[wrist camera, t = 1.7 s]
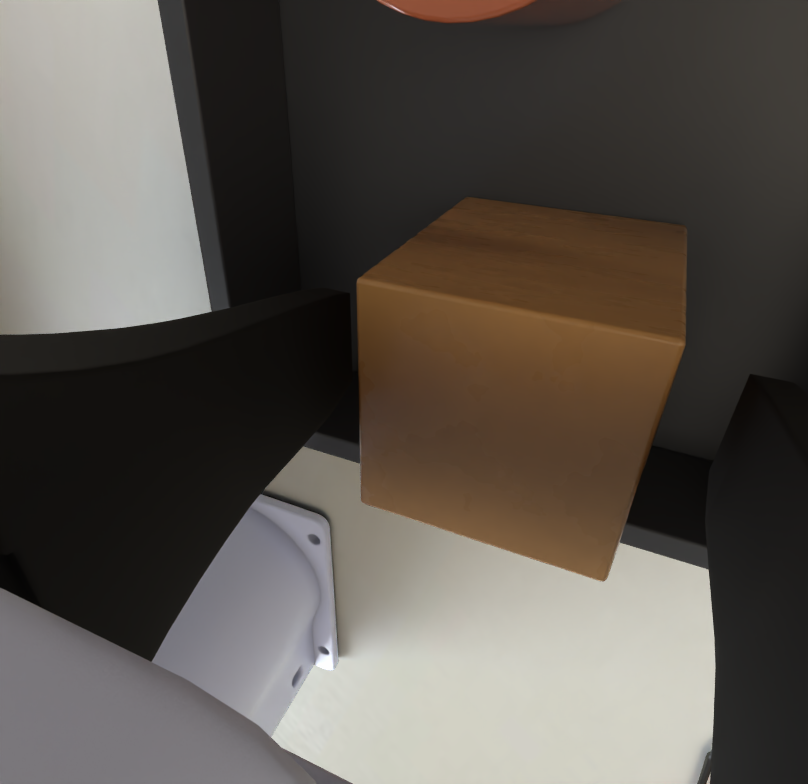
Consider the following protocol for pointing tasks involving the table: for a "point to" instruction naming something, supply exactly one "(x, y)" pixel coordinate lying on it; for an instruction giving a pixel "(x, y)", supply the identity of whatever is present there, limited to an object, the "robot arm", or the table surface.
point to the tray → (514, 173)
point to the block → (520, 374)
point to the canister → (501, 11)
